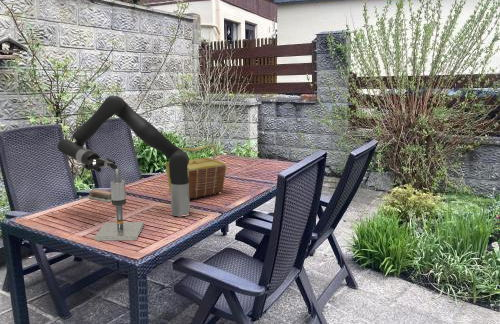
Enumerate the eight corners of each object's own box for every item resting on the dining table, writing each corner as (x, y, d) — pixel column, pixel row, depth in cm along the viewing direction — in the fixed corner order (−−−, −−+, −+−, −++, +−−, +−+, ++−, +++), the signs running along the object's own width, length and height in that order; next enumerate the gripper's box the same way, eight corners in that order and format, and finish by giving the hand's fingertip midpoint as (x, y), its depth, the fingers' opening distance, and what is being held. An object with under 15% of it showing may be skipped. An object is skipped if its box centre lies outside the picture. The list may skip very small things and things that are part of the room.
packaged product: (85, 191, 246) (99, 187, 254) (86, 199, 247) (99, 195, 255) (107, 195, 237) (120, 191, 246) (108, 203, 238) (121, 199, 247)
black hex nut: (126, 201, 193) (126, 197, 192) (124, 205, 187) (123, 201, 187) (114, 201, 192) (113, 197, 192) (110, 205, 187) (110, 201, 186)
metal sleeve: (126, 196, 192) (125, 180, 191) (123, 200, 187) (122, 183, 185) (113, 197, 192) (112, 180, 190) (110, 200, 186) (109, 183, 185)
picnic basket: (186, 204, 237) (185, 152, 231) (164, 194, 257) (163, 146, 251) (228, 195, 256) (228, 147, 250) (204, 186, 275) (204, 141, 269)
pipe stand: (144, 225, 202) (141, 165, 196) (136, 240, 184) (133, 173, 178) (105, 226, 201) (102, 165, 195) (94, 240, 183) (90, 173, 177)
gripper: (74, 151, 193) (95, 163, 185) (101, 149, 205) (122, 159, 196) (73, 167, 195) (93, 178, 187) (100, 163, 207) (120, 174, 198)
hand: (108, 169), depth 191 cm, fingers open, 8 cm apart
